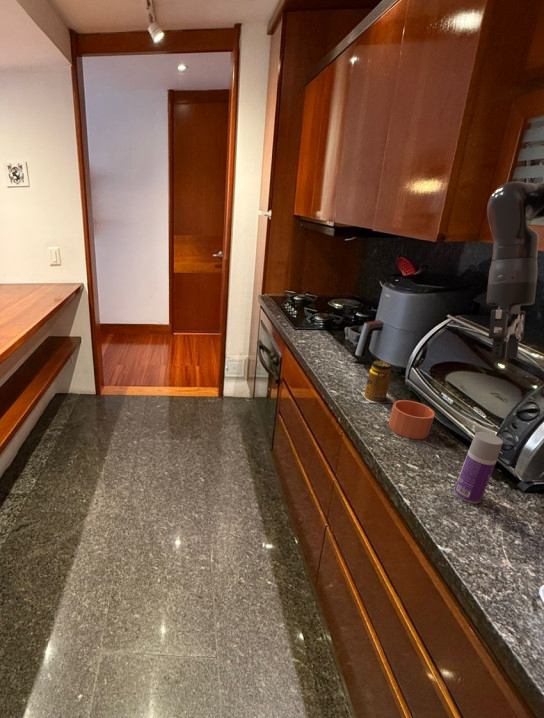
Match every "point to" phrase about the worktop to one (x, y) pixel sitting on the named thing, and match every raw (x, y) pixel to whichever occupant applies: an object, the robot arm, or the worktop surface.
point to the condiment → (378, 383)
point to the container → (478, 467)
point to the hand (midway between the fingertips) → (504, 359)
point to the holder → (411, 419)
